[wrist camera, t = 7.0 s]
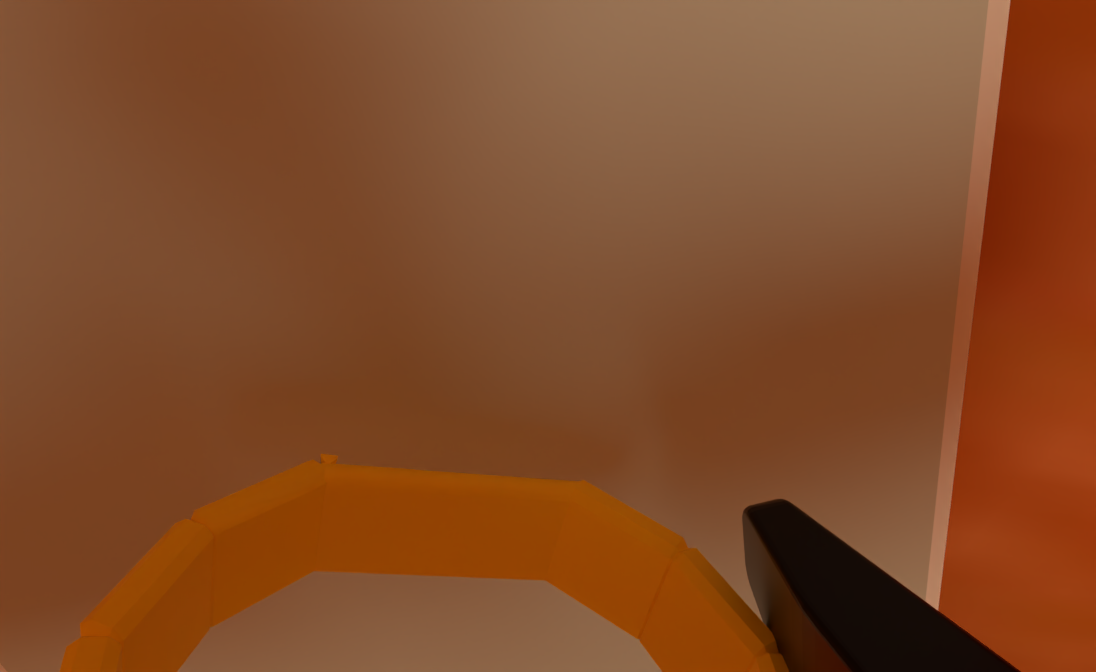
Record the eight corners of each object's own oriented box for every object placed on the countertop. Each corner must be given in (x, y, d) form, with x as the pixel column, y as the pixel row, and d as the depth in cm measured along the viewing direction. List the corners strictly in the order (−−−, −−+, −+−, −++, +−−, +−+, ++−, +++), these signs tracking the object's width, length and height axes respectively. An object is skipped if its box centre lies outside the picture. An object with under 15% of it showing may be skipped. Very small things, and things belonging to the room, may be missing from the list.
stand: (844, 487, 18) (948, 648, 15) (176, 647, 17) (125, 851, 14) (864, -372, 10) (1095, -450, 7) (-335, -120, 10) (-715, -72, 6)
